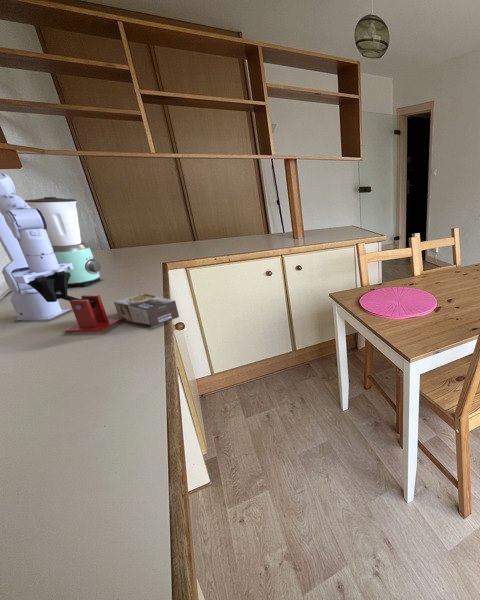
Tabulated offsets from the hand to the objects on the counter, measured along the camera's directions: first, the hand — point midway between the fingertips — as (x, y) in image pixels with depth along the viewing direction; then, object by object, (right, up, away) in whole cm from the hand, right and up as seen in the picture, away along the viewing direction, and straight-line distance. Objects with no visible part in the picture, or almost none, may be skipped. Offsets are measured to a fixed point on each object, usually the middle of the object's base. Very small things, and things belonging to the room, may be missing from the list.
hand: (57, 299), depth 91 cm
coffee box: (+11, -2, +13) cm, 17 cm away
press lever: (+3, -1, +1) cm, 3 cm away
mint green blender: (-36, +7, +41) cm, 55 cm away
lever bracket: (+7, -9, +4) cm, 12 cm away
